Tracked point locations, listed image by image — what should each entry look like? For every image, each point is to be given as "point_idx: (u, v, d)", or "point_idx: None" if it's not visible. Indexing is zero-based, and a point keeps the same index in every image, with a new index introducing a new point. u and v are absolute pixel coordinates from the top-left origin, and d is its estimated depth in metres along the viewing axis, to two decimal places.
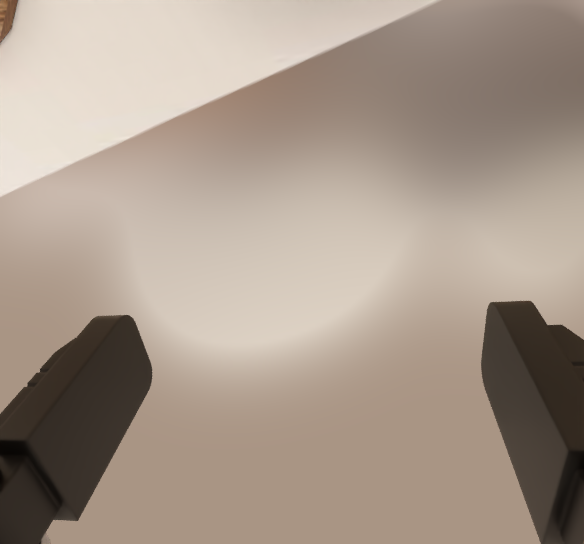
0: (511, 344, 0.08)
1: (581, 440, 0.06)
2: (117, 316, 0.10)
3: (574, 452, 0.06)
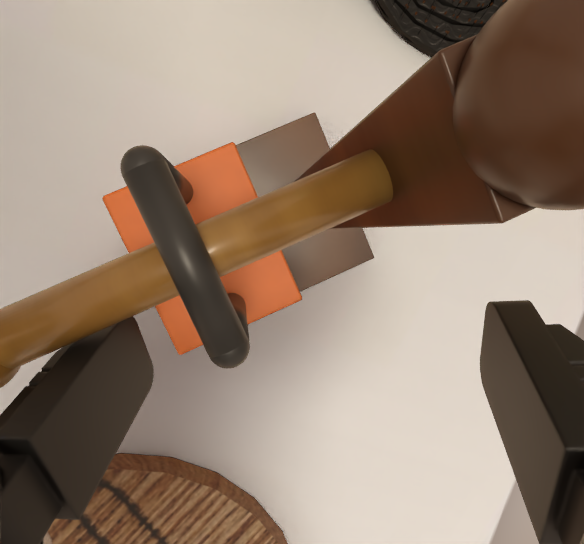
0: (509, 343, 0.08)
1: (578, 439, 0.06)
2: None
3: (571, 451, 0.06)
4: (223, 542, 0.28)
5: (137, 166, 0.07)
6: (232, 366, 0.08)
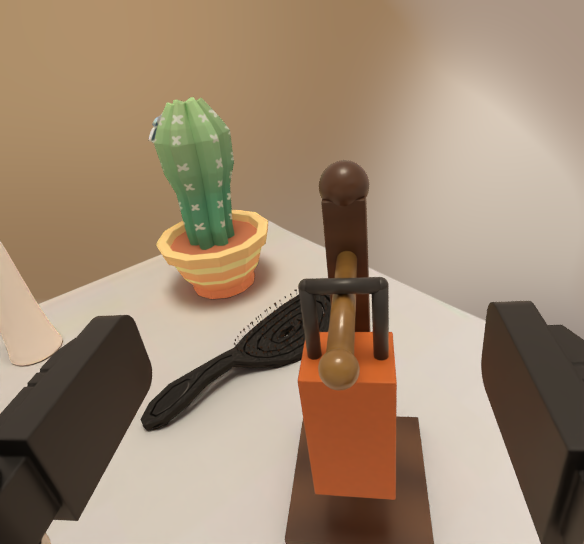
0: (511, 344, 0.08)
1: (581, 440, 0.06)
2: (117, 316, 0.10)
3: (574, 452, 0.06)
4: None
5: (305, 280, 0.21)
6: (386, 282, 0.21)
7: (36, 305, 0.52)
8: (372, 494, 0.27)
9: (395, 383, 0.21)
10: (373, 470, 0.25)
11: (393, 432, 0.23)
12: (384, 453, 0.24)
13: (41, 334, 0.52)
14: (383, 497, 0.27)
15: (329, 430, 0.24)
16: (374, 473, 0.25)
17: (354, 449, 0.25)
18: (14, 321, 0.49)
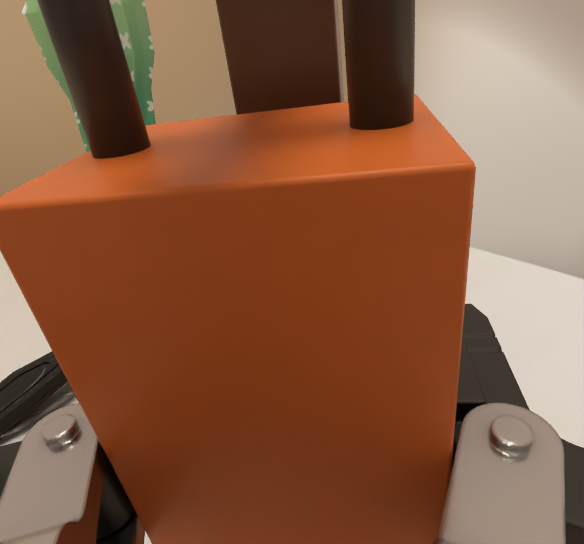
0: None
1: None
2: None
3: None
4: None
5: None
6: None
7: None
8: None
9: (470, 169, 0.04)
10: None
11: (442, 450, 0.06)
12: (402, 529, 0.07)
13: None
14: None
15: (190, 448, 0.06)
16: None
17: (291, 513, 0.07)
18: None
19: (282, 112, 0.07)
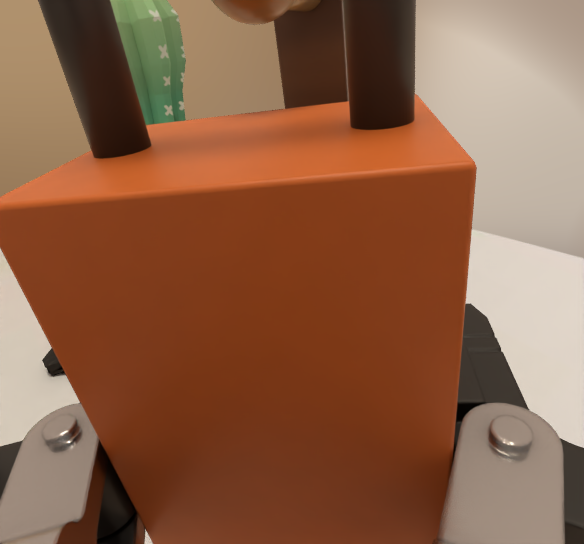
0: None
1: None
2: None
3: None
4: None
5: None
6: None
7: None
8: None
9: (471, 168, 0.04)
10: None
11: (444, 450, 0.06)
12: (402, 527, 0.07)
13: None
14: None
15: (190, 447, 0.06)
16: None
17: (291, 512, 0.07)
18: None
19: (283, 112, 0.07)
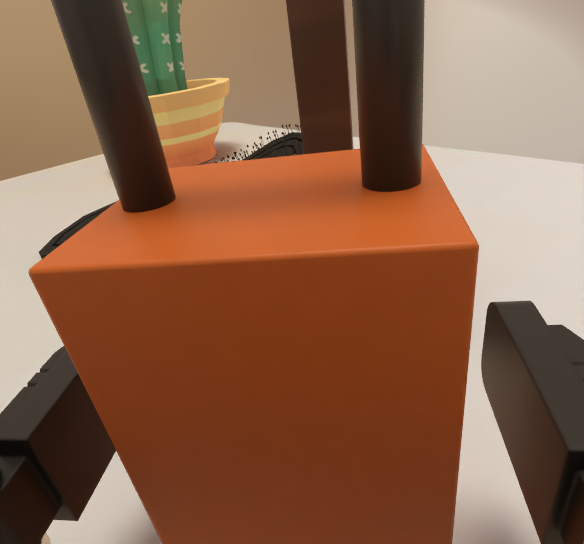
0: (511, 344, 0.08)
1: (581, 440, 0.06)
2: None
3: (574, 452, 0.06)
4: None
5: None
6: None
7: None
8: None
9: (474, 247, 0.04)
10: None
11: (449, 485, 0.06)
12: None
13: None
14: None
15: (211, 479, 0.07)
16: None
17: (304, 538, 0.07)
18: None
19: (296, 160, 0.08)
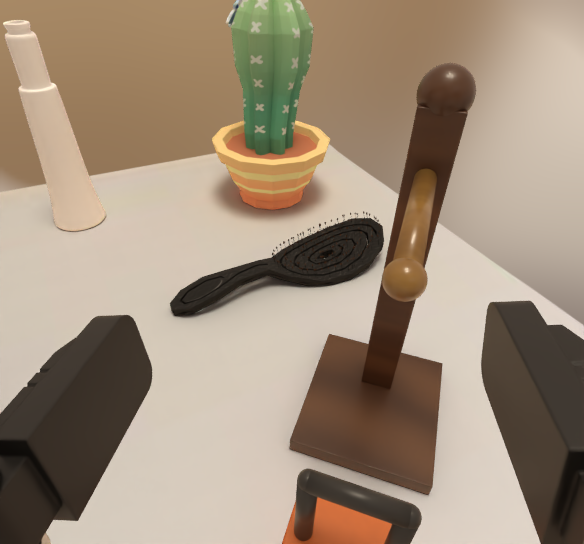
0: (511, 344, 0.08)
1: (581, 440, 0.06)
2: (117, 316, 0.10)
3: (574, 452, 0.06)
4: None
5: (308, 476, 0.15)
6: (420, 518, 0.14)
7: (86, 174, 0.52)
8: None
9: None
10: None
11: None
12: None
13: (87, 204, 0.52)
14: None
15: None
16: None
17: None
18: (64, 185, 0.50)
19: None
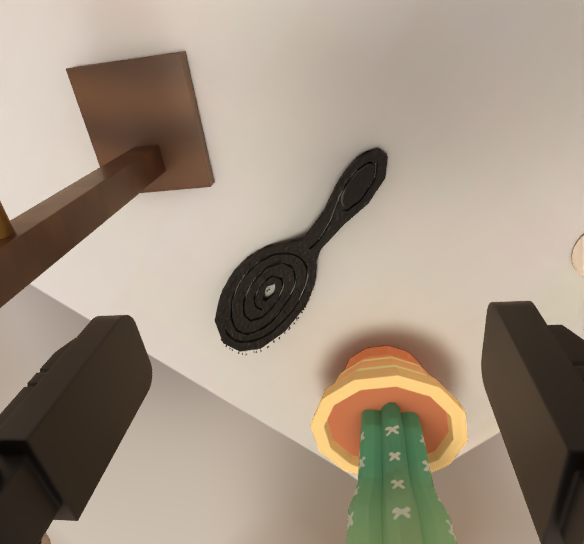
0: (511, 344, 0.08)
1: (581, 440, 0.06)
2: (117, 316, 0.10)
3: (574, 452, 0.06)
4: None
5: None
6: None
7: None
8: None
9: None
10: None
11: None
12: None
13: None
14: None
15: None
16: None
17: None
18: None
19: None
